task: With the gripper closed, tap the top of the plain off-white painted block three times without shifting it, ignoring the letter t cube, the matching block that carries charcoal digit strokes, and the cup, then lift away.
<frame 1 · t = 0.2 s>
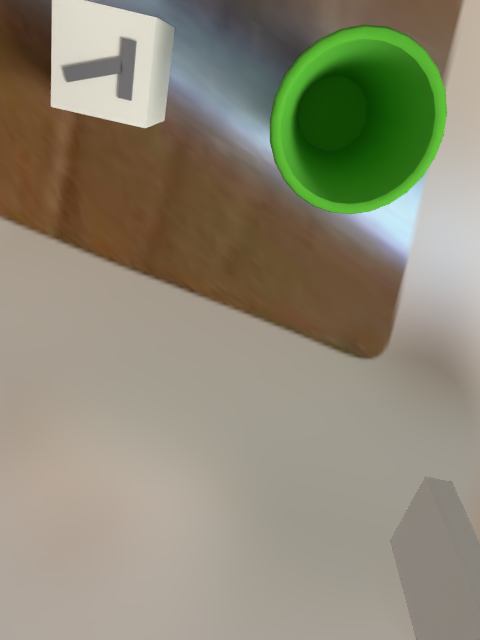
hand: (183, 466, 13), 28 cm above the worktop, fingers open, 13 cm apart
cup: (331, 113, 34), on the worktop
letter t cube 7: (128, 66, 33), on the worktop
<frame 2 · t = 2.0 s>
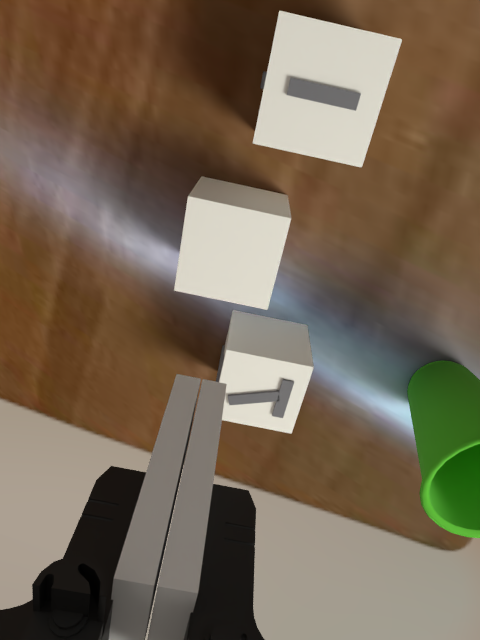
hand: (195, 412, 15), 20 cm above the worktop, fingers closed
cup: (437, 383, 38), on the worktop
letter t cube 7: (261, 348, 37), on the worktop
digit block 1: (313, 91, 28), on the worktop
plain block: (236, 227, 33), on the worktop
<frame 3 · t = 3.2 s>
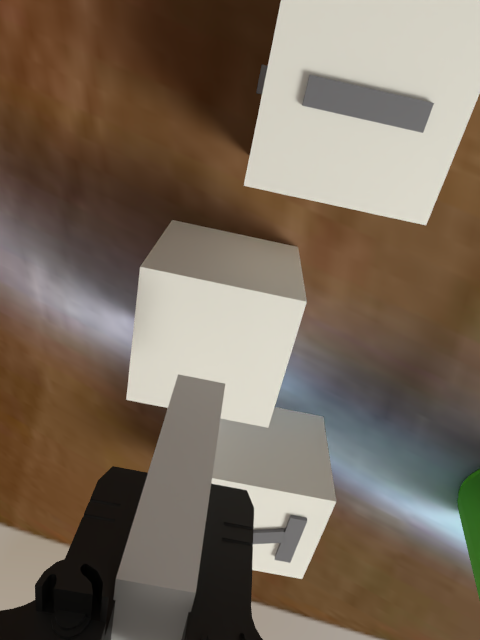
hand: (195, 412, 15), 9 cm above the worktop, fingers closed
letter t cube 7: (260, 443, 27), on the worktop
digit block 1: (339, 95, 18), on the worktop
plain block: (223, 289, 23), on the worktop
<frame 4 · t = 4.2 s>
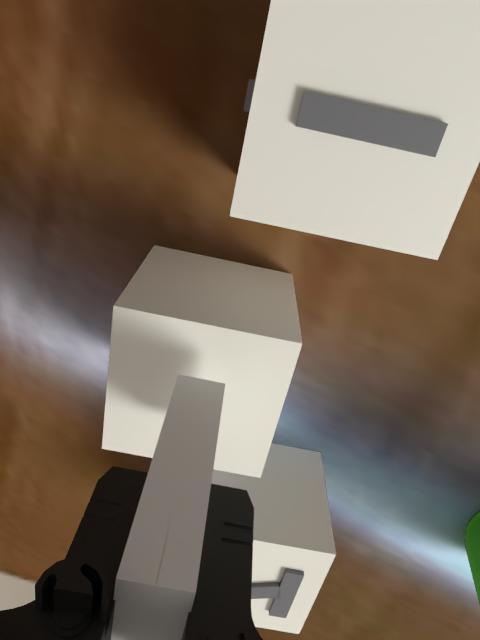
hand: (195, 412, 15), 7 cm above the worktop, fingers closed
letter t cube 7: (253, 480, 26), on the worktop
digit block 1: (336, 111, 17), on the worktop
plain block: (211, 319, 21), on the worktop
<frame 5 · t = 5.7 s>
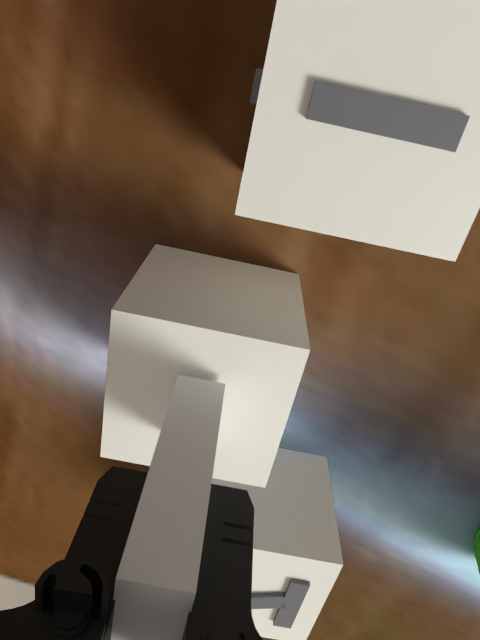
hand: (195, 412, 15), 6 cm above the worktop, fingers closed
letter t cube 7: (257, 485, 25), on the worktop
digit block 1: (346, 103, 16), on the worktop
plain block: (215, 321, 20), on the worktop, touching gripper
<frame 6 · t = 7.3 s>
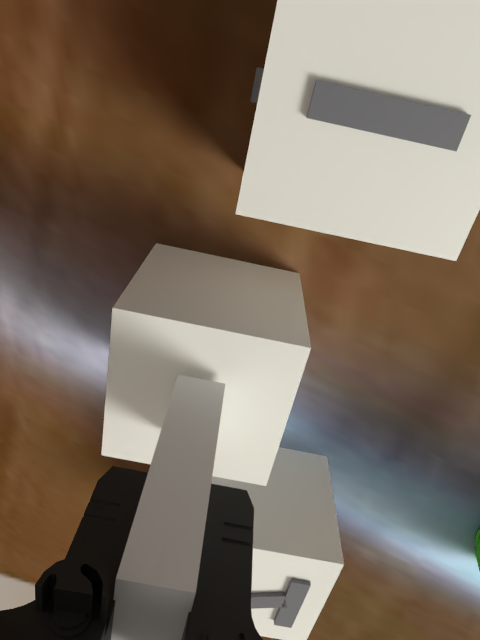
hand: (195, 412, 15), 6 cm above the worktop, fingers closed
letter t cube 7: (257, 484, 25), on the worktop
digit block 1: (347, 102, 16), on the worktop
plain block: (215, 320, 20), on the worktop
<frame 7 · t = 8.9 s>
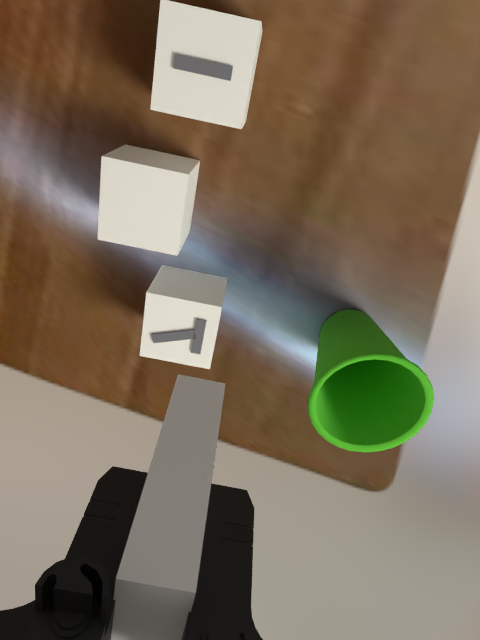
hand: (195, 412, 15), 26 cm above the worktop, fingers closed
cup: (347, 331, 43), on the worktop
letter t cube 7: (190, 300, 42), on the worktop
digit block 1: (213, 69, 33), on the worktop
plain block: (159, 189, 38), on the worktop
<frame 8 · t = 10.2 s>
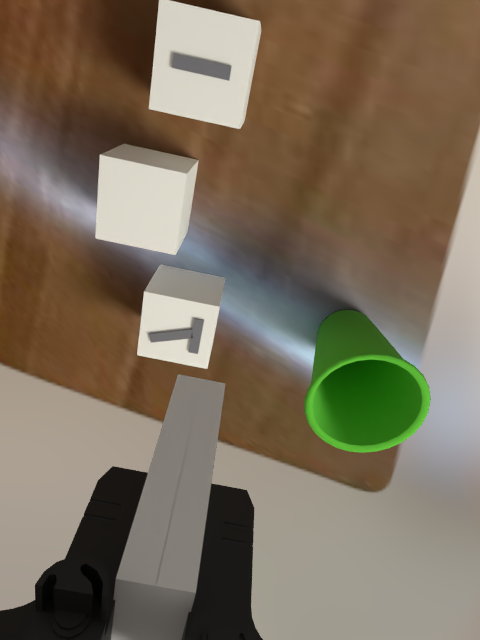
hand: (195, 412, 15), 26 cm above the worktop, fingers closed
cup: (344, 331, 43), on the worktop
letter t cube 7: (188, 300, 42), on the worktop
digit block 1: (212, 68, 33), on the worktop
plain block: (157, 189, 38), on the worktop
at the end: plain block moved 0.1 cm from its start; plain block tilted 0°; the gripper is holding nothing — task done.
